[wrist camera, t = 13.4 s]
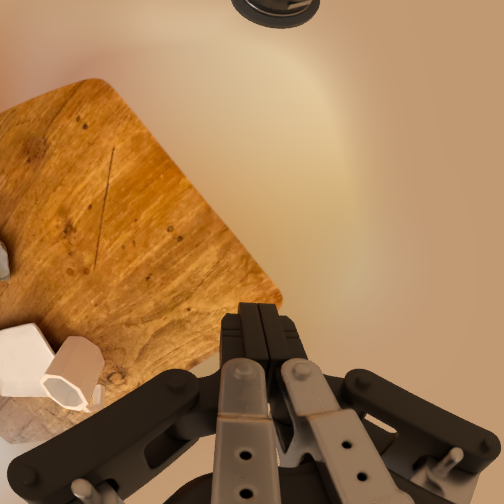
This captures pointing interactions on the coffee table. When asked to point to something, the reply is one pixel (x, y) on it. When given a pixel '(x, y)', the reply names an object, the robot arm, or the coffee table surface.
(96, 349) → the mug
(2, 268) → the seashell
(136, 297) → the coffee table surface
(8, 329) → the white slab
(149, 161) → the coffee table surface
